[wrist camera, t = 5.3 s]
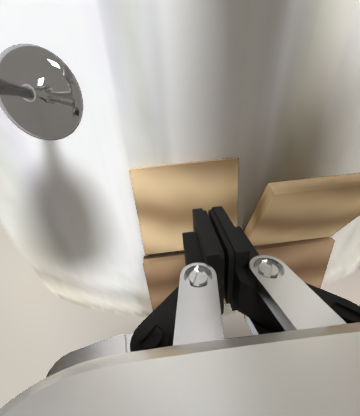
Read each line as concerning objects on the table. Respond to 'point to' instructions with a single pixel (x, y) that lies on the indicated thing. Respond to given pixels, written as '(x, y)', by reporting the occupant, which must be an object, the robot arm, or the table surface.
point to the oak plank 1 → (181, 198)
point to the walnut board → (286, 252)
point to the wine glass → (39, 92)
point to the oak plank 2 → (304, 209)
